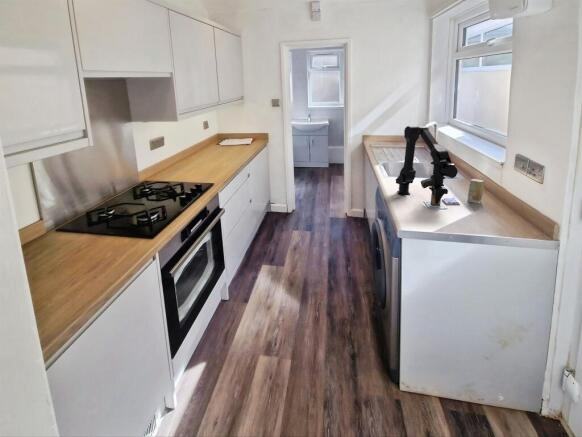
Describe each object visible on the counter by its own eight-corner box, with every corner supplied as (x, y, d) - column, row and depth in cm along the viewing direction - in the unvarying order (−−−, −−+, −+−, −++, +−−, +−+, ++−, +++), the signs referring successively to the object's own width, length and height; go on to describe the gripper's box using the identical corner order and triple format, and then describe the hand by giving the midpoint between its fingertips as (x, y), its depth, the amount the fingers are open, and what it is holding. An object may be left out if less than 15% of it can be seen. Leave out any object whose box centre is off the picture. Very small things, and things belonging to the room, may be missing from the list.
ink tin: (441, 199, 233) (442, 197, 232) (454, 199, 232) (454, 197, 232) (446, 204, 224) (446, 202, 224) (460, 204, 224) (460, 202, 223)
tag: (423, 202, 229) (423, 201, 229) (440, 202, 228) (440, 201, 228) (429, 209, 218) (429, 208, 218) (447, 209, 217) (447, 208, 217)
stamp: (430, 203, 225) (431, 193, 223) (437, 203, 225) (439, 193, 223) (432, 206, 221) (433, 195, 219) (440, 206, 221) (441, 195, 219)
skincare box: (466, 201, 229) (469, 179, 225) (469, 199, 232) (472, 178, 228) (478, 203, 225) (481, 181, 221) (481, 202, 228) (484, 180, 224)
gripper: (418, 170, 227) (416, 197, 232) (427, 178, 209) (424, 207, 214) (439, 170, 226) (436, 197, 231) (449, 178, 208) (446, 207, 214)
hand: (435, 202), depth 223 cm, fingers closed on stamp, 4 cm apart
